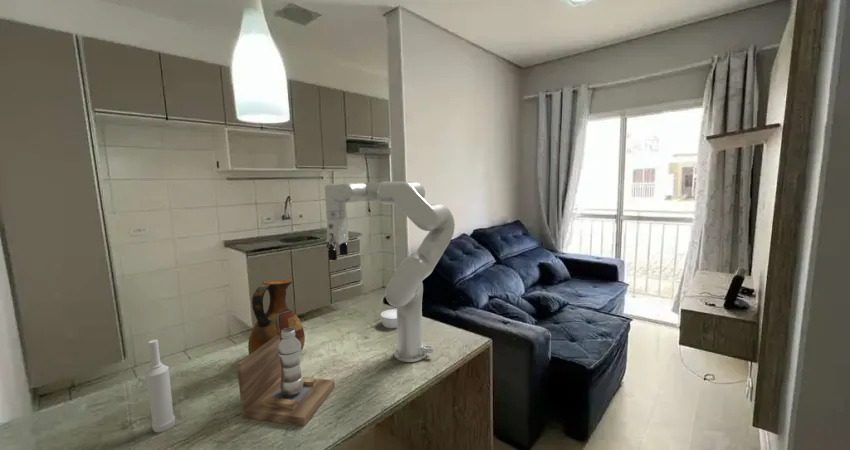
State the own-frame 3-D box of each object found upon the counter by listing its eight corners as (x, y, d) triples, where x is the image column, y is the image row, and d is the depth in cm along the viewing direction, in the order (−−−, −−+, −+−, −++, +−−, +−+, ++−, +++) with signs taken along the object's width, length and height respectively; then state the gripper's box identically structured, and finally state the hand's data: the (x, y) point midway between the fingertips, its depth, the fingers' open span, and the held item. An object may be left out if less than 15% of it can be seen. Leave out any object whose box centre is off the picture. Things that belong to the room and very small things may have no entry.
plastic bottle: (281, 388, 107) (276, 327, 105) (304, 384, 109) (300, 324, 107) (279, 401, 101) (274, 336, 99) (304, 396, 103) (299, 333, 101)
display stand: (334, 387, 112) (332, 339, 110) (305, 426, 95) (300, 369, 93) (280, 381, 116) (276, 335, 114) (241, 417, 99) (236, 363, 97)
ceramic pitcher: (315, 347, 140) (310, 275, 136) (282, 374, 121) (275, 291, 117) (275, 342, 146) (269, 273, 142) (237, 367, 126) (229, 288, 123)
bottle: (180, 419, 99) (169, 336, 95) (167, 432, 94) (155, 345, 90) (161, 420, 98) (150, 337, 95) (147, 433, 93) (135, 346, 90)
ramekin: (404, 329, 155) (404, 318, 155) (379, 329, 155) (379, 318, 155) (405, 319, 166) (405, 308, 166) (382, 319, 166) (381, 309, 166)
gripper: (334, 217, 128) (337, 262, 130) (353, 212, 144) (355, 253, 147) (316, 217, 129) (319, 262, 131) (337, 212, 146) (339, 252, 148)
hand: (338, 257), depth 139 cm, fingers open, 9 cm apart
